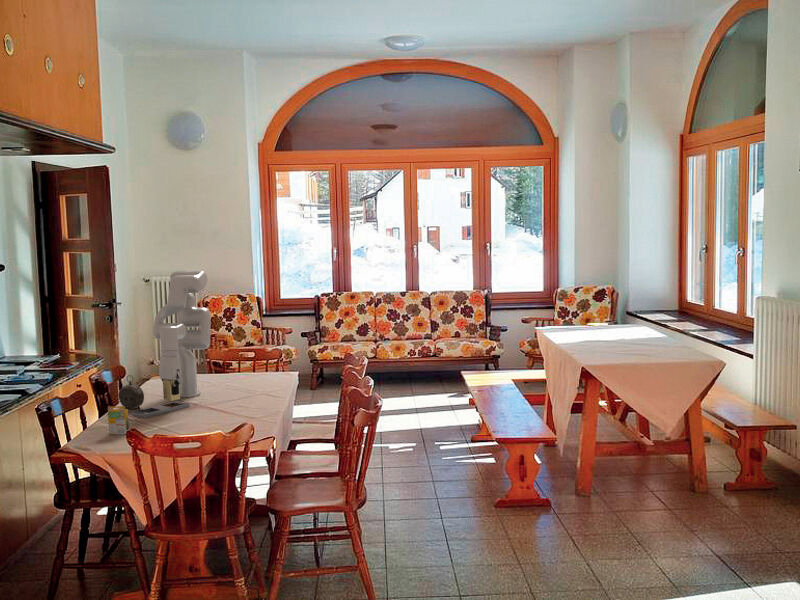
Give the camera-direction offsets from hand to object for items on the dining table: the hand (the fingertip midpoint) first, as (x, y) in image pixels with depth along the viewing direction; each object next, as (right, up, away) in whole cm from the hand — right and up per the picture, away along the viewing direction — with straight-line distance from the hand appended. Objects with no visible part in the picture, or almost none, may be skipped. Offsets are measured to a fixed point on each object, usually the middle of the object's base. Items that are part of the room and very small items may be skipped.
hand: (171, 393), depth 380 cm
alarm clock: (-18, -8, +2) cm, 20 cm away
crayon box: (-12, -13, -36) cm, 40 cm away
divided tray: (-3, -8, -4) cm, 10 cm away
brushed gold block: (0, -3, 0) cm, 3 cm away
